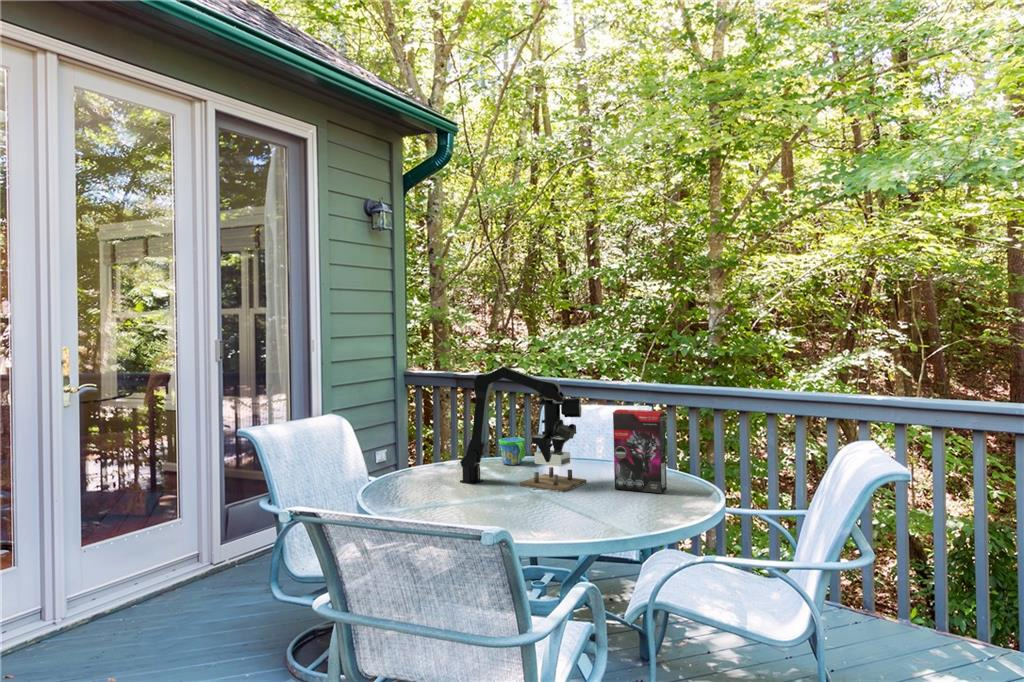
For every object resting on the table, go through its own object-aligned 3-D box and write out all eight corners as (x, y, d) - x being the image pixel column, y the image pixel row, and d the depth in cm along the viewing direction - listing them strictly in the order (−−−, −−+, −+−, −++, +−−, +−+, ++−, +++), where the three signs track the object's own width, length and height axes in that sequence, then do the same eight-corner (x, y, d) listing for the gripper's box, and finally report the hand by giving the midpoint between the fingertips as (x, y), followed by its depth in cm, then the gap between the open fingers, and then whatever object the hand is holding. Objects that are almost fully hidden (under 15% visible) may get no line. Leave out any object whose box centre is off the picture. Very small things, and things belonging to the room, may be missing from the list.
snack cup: (532, 465, 289) (532, 440, 289) (509, 468, 284) (509, 443, 284) (514, 459, 303) (514, 435, 303) (492, 462, 298) (491, 437, 298)
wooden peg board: (563, 491, 244) (562, 478, 244) (520, 485, 255) (519, 472, 255) (586, 482, 257) (586, 469, 257) (544, 477, 268) (544, 464, 268)
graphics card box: (612, 490, 246) (611, 410, 245) (619, 485, 252) (618, 408, 251) (661, 494, 238) (660, 413, 237) (667, 490, 244) (666, 410, 243)
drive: (561, 466, 250) (561, 455, 250) (534, 463, 257) (534, 451, 256) (571, 463, 255) (571, 452, 255) (544, 460, 262) (544, 449, 262)
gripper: (557, 421, 243) (558, 467, 244) (585, 415, 258) (585, 458, 259) (530, 419, 250) (531, 464, 250) (558, 413, 265) (559, 455, 265)
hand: (552, 460), depth 256 cm, fingers closed on drive, 6 cm apart
